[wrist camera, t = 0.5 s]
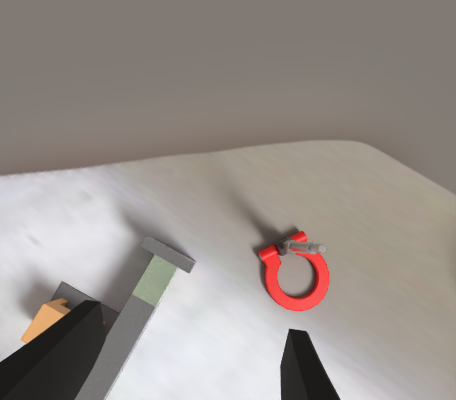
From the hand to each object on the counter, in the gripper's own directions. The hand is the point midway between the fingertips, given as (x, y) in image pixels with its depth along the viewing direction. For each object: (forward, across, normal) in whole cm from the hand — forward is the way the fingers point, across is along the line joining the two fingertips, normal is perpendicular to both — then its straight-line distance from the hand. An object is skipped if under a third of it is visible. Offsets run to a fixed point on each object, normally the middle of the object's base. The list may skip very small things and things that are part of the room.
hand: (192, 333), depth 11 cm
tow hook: (+23, -9, +14) cm, 29 cm away
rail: (+16, +10, +20) cm, 27 cm away
